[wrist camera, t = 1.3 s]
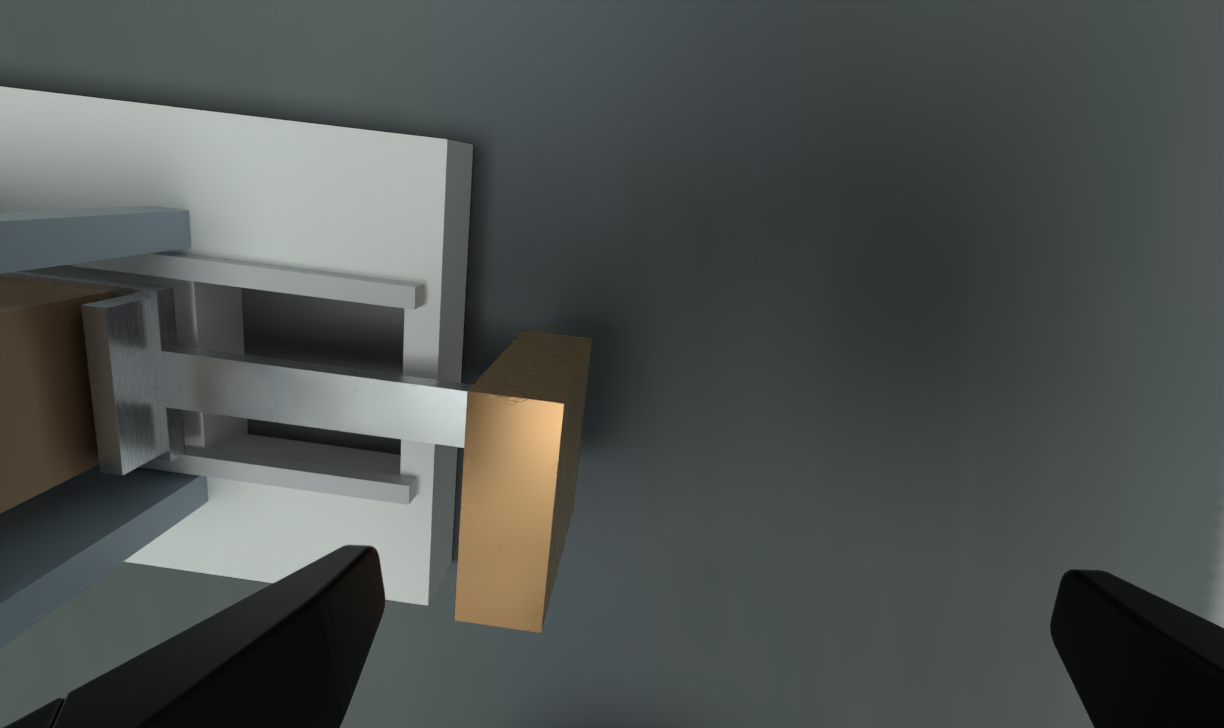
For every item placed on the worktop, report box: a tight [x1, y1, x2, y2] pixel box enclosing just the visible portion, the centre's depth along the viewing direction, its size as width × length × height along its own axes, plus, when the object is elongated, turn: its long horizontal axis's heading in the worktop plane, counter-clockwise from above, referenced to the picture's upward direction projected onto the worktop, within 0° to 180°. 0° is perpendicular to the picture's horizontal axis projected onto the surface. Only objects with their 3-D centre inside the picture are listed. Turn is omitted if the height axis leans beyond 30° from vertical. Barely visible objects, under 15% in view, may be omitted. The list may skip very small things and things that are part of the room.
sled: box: [0, 270, 592, 633], centre depth 15 cm, size 19×5×5 cm, turn 84°
